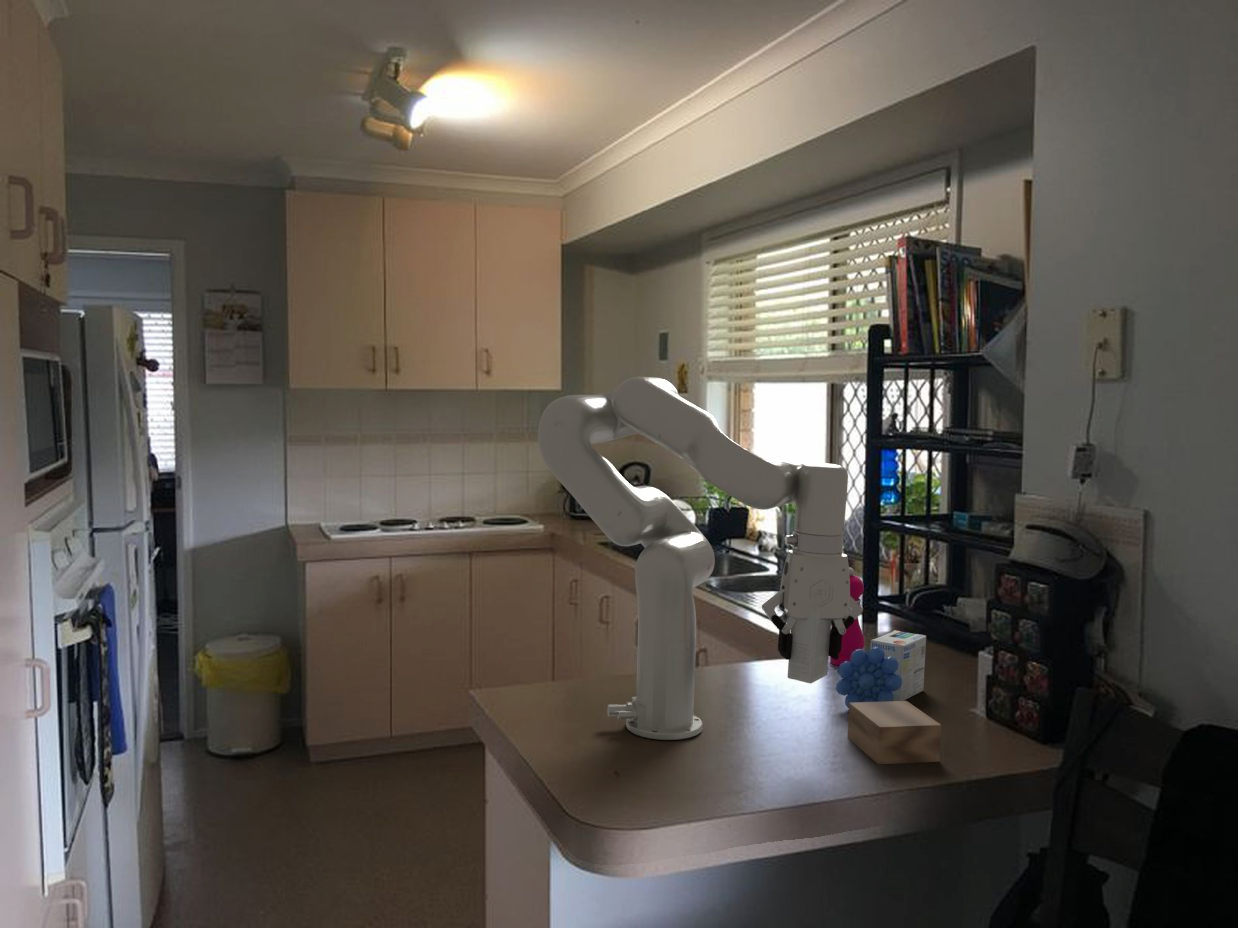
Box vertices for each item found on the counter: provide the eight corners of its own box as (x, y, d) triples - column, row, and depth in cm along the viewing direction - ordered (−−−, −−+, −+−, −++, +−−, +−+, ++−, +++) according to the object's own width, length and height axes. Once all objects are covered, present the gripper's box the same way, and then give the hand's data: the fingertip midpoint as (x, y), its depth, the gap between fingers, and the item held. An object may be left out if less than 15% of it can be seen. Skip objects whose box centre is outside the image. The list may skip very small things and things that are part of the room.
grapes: (907, 713, 182) (910, 646, 182) (896, 723, 177) (899, 654, 176) (843, 701, 188) (846, 636, 188) (830, 710, 183) (833, 643, 182)
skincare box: (802, 669, 165) (808, 595, 163) (827, 675, 162) (834, 600, 161) (785, 678, 160) (791, 601, 159) (811, 684, 157) (817, 606, 156)
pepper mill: (851, 657, 219) (855, 563, 218) (870, 666, 212) (874, 569, 211) (821, 659, 217) (825, 564, 215) (839, 668, 210) (843, 571, 208)
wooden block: (878, 765, 158) (879, 726, 157) (847, 738, 169) (849, 702, 169) (939, 762, 159) (941, 724, 159) (904, 736, 171) (906, 700, 171)
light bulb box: (891, 683, 201) (894, 628, 200) (924, 691, 196) (927, 635, 195) (866, 695, 192) (869, 638, 191) (900, 703, 188) (903, 645, 187)
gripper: (771, 547, 154) (763, 664, 155) (881, 549, 157) (871, 664, 159) (755, 538, 161) (747, 650, 163) (860, 541, 164) (851, 650, 166)
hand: (808, 656), depth 161 cm, fingers closed on skincare box, 7 cm apart
